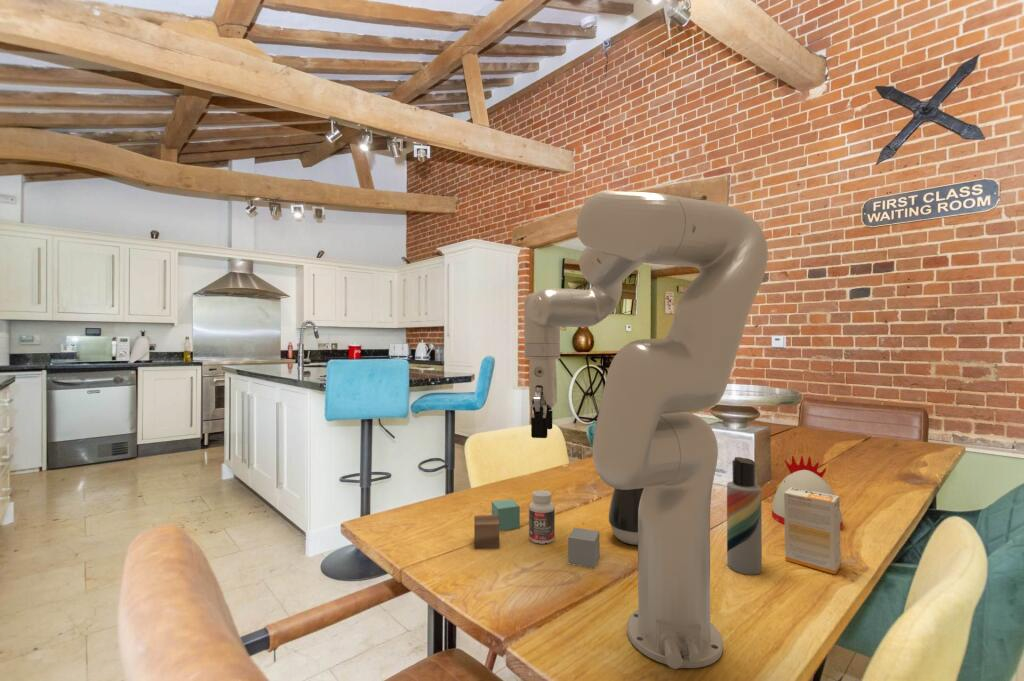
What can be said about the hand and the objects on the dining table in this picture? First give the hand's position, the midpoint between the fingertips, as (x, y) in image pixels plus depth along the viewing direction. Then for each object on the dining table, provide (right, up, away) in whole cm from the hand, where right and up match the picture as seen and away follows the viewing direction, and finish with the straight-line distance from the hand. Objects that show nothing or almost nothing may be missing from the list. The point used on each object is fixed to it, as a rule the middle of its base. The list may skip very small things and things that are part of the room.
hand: (542, 433), depth 100 cm
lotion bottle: (+36, -22, -13) cm, 44 cm away
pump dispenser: (+19, -22, -1) cm, 30 cm away
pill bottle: (0, -22, 0) cm, 23 cm away
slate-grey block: (+7, -22, -10) cm, 25 cm away
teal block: (-8, -22, +7) cm, 25 cm away
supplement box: (+50, -22, -11) cm, 56 cm away
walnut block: (-12, -22, -2) cm, 25 cm away
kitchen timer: (+62, -22, +10) cm, 66 cm away
